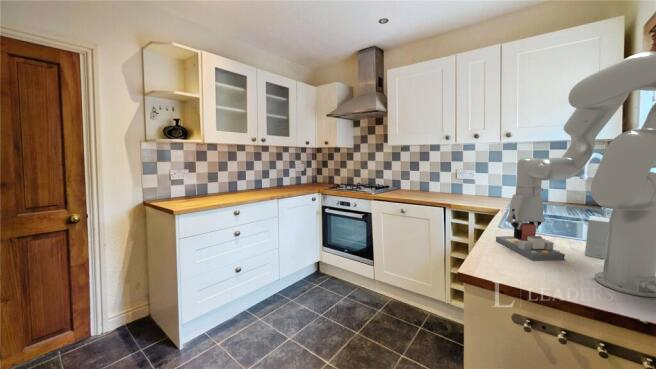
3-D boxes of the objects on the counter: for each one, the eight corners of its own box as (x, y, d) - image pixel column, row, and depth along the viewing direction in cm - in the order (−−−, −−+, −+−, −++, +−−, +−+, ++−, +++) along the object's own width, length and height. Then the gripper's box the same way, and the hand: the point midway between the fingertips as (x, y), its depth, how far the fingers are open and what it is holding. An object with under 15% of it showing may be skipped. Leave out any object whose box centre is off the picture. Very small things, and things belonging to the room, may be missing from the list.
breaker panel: (564, 259, 93) (565, 247, 93) (532, 260, 93) (533, 247, 92) (522, 240, 113) (522, 230, 112) (495, 241, 113) (496, 230, 112)
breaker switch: (544, 248, 97) (545, 237, 97) (533, 248, 97) (533, 238, 97) (537, 245, 100) (538, 235, 100) (526, 245, 100) (527, 235, 100)
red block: (534, 241, 102) (535, 225, 101) (522, 241, 102) (523, 225, 101) (525, 237, 107) (526, 222, 106) (514, 237, 106) (515, 222, 106)
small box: (610, 260, 92) (614, 222, 91) (584, 255, 97) (588, 219, 95) (610, 253, 98) (614, 218, 96) (586, 249, 102) (589, 215, 101)
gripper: (542, 189, 106) (538, 235, 108) (499, 190, 105) (496, 235, 108) (559, 192, 98) (554, 241, 101) (512, 193, 98) (508, 242, 100)
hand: (524, 238), depth 104 cm, fingers closed on red block, 4 cm apart
